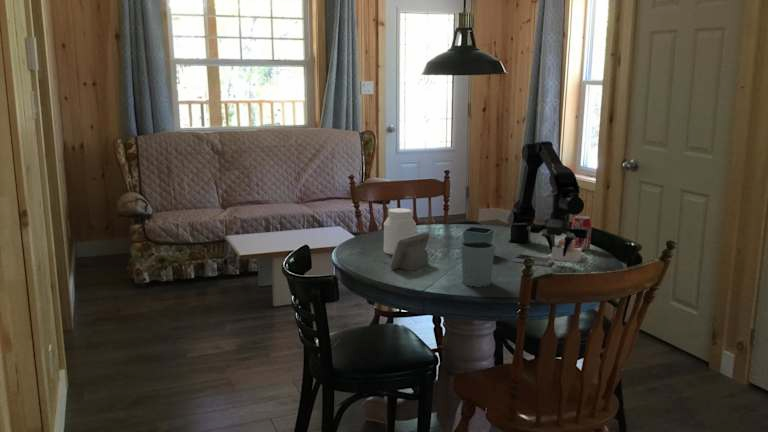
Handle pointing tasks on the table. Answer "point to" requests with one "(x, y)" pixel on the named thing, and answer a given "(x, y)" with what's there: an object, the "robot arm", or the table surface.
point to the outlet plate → (572, 255)
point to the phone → (538, 260)
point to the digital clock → (411, 252)
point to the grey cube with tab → (557, 252)
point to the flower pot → (478, 234)
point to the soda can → (583, 222)
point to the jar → (397, 228)
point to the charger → (571, 247)
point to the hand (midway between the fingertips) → (558, 255)
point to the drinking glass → (477, 262)
